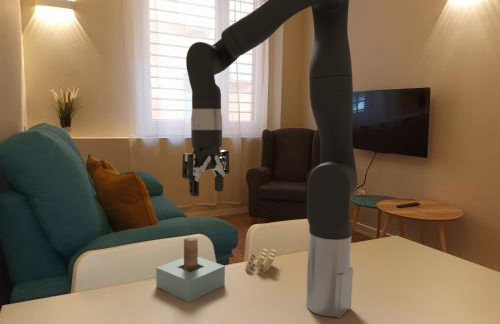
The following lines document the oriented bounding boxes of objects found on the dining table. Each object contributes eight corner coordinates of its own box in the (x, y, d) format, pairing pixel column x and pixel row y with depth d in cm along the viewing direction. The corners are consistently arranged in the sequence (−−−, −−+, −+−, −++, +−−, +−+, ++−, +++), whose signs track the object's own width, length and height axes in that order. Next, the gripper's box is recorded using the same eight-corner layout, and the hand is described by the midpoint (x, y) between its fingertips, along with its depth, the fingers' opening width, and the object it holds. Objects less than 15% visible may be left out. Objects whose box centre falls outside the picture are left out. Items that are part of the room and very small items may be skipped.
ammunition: (276, 248, 110) (249, 246, 111) (273, 258, 103) (245, 255, 104) (275, 264, 111) (249, 262, 112) (273, 274, 103) (244, 272, 105)
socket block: (224, 284, 96) (224, 266, 95) (189, 302, 87) (189, 281, 86) (192, 272, 103) (192, 254, 103) (156, 286, 94) (156, 267, 93)
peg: (200, 285, 95) (200, 239, 94) (190, 290, 93) (190, 242, 91) (191, 281, 97) (191, 236, 96) (180, 286, 95) (181, 239, 93)
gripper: (196, 128, 84) (197, 200, 86) (237, 127, 95) (237, 191, 97) (174, 128, 89) (175, 196, 91) (215, 127, 100) (215, 188, 102)
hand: (207, 193), depth 94 cm, fingers open, 8 cm apart
